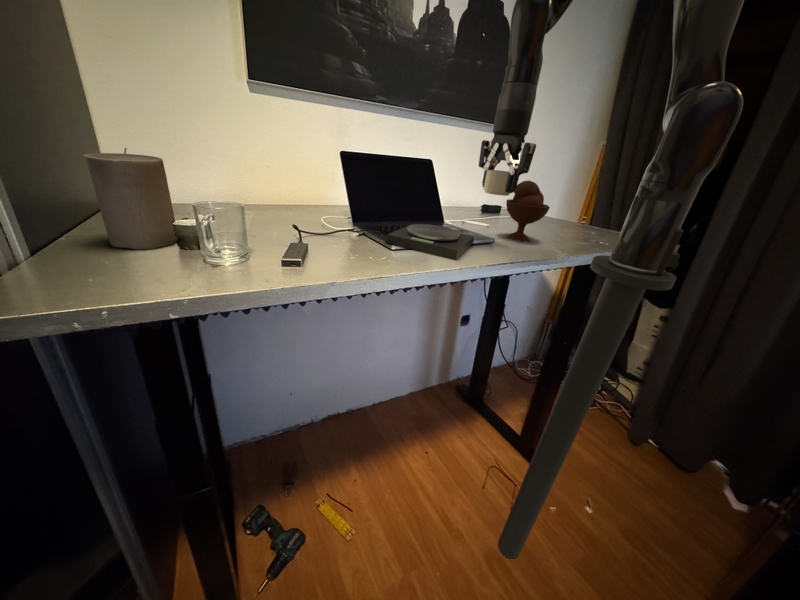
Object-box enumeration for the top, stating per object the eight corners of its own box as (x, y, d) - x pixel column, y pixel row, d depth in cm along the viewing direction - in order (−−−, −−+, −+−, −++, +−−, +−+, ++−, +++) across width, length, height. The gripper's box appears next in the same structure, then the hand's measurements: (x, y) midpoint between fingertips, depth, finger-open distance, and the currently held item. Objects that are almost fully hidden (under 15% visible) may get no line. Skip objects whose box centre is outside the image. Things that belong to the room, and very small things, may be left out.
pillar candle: (170, 231, 63) (153, 147, 57) (185, 245, 57) (168, 152, 51) (105, 237, 57) (77, 142, 50) (114, 253, 51) (84, 148, 44)
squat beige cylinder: (512, 194, 79) (517, 172, 77) (508, 196, 74) (514, 173, 72) (486, 190, 81) (490, 169, 79) (480, 192, 76) (485, 169, 74)
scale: (472, 244, 79) (474, 234, 78) (455, 259, 66) (458, 248, 65) (412, 231, 84) (413, 222, 83) (386, 243, 72) (387, 233, 71)
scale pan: (465, 233, 77) (465, 231, 77) (450, 244, 67) (451, 241, 67) (418, 223, 81) (419, 221, 81) (398, 232, 71) (398, 230, 71)
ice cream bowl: (536, 246, 83) (554, 185, 76) (493, 237, 88) (507, 178, 81) (542, 239, 91) (558, 183, 85) (503, 231, 96) (516, 177, 90)
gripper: (554, 111, 67) (532, 195, 74) (501, 113, 77) (486, 186, 84) (531, 106, 63) (510, 195, 70) (478, 108, 73) (465, 185, 81)
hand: (497, 189), depth 77 cm, fingers closed on squat beige cylinder, 6 cm apart
